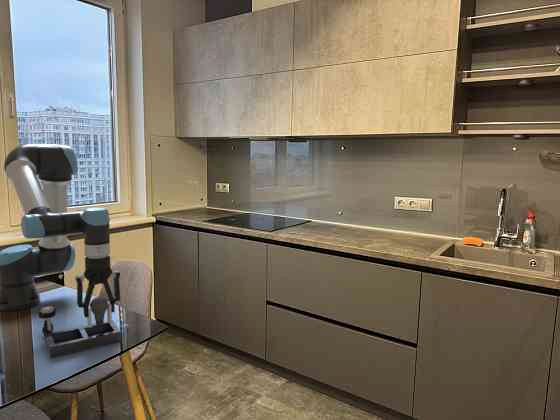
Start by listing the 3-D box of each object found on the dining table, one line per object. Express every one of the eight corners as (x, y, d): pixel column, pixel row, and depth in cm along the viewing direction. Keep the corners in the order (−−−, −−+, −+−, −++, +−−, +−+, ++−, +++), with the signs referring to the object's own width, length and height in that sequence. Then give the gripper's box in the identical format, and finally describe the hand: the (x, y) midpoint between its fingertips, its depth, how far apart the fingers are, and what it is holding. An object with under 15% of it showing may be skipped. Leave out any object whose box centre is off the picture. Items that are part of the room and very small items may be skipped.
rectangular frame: (45, 344, 130) (45, 333, 130) (112, 329, 142) (112, 320, 142) (50, 358, 122) (49, 347, 121) (121, 341, 134) (120, 331, 133)
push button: (35, 335, 136) (34, 307, 135) (53, 330, 140) (51, 303, 139) (42, 342, 132) (40, 312, 130) (59, 337, 135) (58, 308, 134)
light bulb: (94, 322, 137) (93, 294, 135) (111, 322, 137) (110, 294, 136) (88, 329, 131) (86, 300, 130) (105, 329, 132) (104, 300, 130)
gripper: (67, 262, 123) (70, 334, 126) (130, 254, 133) (131, 321, 137) (63, 256, 129) (66, 326, 132) (123, 250, 139) (125, 314, 143)
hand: (99, 323), depth 134 cm, fingers closed on light bulb, 5 cm apart
